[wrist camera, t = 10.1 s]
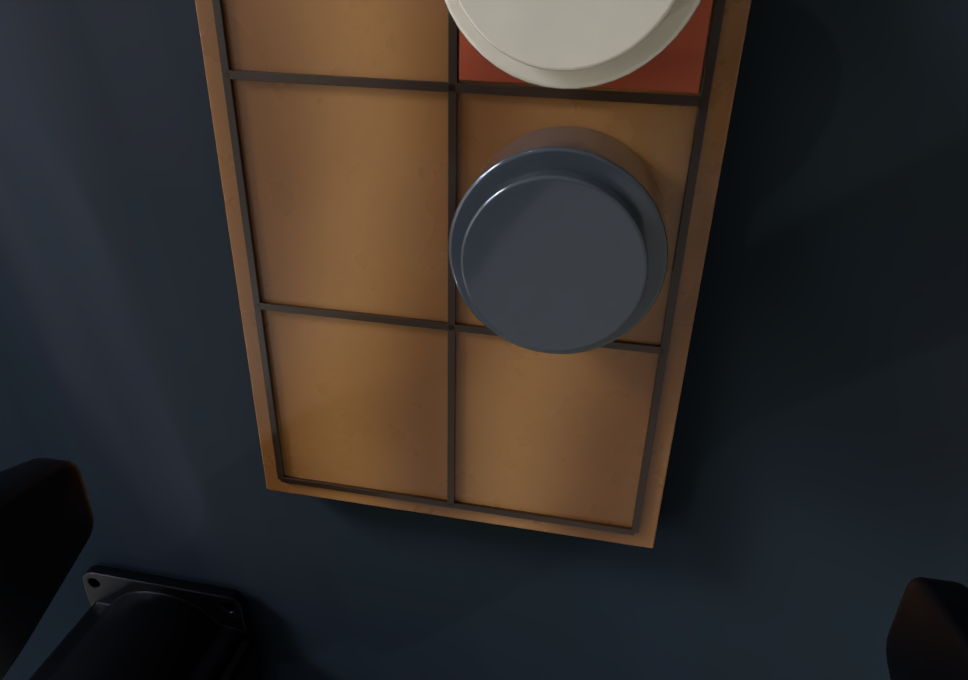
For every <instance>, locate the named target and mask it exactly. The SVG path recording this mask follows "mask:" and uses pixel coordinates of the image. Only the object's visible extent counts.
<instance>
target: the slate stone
mask: <svg viewBox="0 0 968 680" xmlns="http://www.w3.org/2000/svg"><path fill="white" fill-rule="evenodd" d="M449 261H450V266H451V271H452V275H453V278H454V281H455V284H456V286H457V288H458V290H459V292H460V294H461V297H462V298H463V300H464V301H465V303H466V305H467V306H468V308H469V309H470V310H471V311H472V313H473V314H474V315H475V316H476V317H477V319H478V320H479V321H481V322H482V323H483V324H484V325H485V326H486V327H487V328H488V329H490V330H491V331H492V332H494V333H495V334H496V335H498V336H499V337H501V338H503V339H505V340H506V341H508V342H510V343H512V344H515V345H517V346H520V347H522V348H525V349H529V350H532V351H536V352H542V353H548V354H574V353H580V352H585V351H590V350H593V349H596V348H599V347H602V346H604V345H607V344H609V343H611V342H613V341H615V340H616V339H618V338H620V337H621V336H623V335H625V334H626V333H627V332H629V331H630V330H631V329H632V328H634V327H635V326H636V325H637V324H638V323H639V322H640V321H641V320H642V319H643V318H644V317H645V316H646V314H647V313H648V312H649V310H650V309H651V307H652V306H653V304H654V303H655V301H656V299H657V297H658V295H659V293H660V291H661V288H662V286H663V283H664V280H665V275H666V271H667V265H668V240H667V229H666V218H665V208H664V203H663V199H662V195H661V192H660V190H659V187H658V184H657V182H656V180H655V179H654V177H653V175H652V173H651V171H650V170H649V169H648V167H647V166H646V165H645V163H644V162H643V161H642V160H641V159H640V158H639V157H638V156H637V155H636V153H635V152H633V151H632V150H631V149H630V148H628V147H627V146H626V145H625V144H623V143H621V142H620V141H618V140H616V139H615V138H613V137H611V136H609V135H606V134H604V133H601V132H599V131H595V130H592V129H588V128H582V127H575V126H557V127H550V128H544V129H540V130H537V131H533V132H530V133H528V134H526V135H523V136H521V137H519V138H517V139H516V140H514V141H512V142H511V143H509V144H508V145H506V146H505V147H504V148H503V149H501V150H500V151H499V152H498V153H497V154H496V155H495V156H494V157H493V158H492V159H491V160H490V161H489V163H488V164H487V165H486V166H485V168H484V169H483V170H482V172H481V173H480V174H479V176H478V177H477V178H476V179H475V181H474V182H473V183H472V185H471V186H470V187H469V189H468V190H467V192H466V193H465V194H464V196H463V198H462V199H461V201H460V203H459V205H458V207H457V209H456V212H455V215H454V218H453V220H452V225H451V229H450V234H449Z"/></svg>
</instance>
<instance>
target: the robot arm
mask: <svg viewBox="0 0 968 680" xmlns="http://www.w3.org/2000/svg"><path fill="white" fill-rule="evenodd" d="M93 523H94V517H93V512H92V509H91V506H90V502H89V499H88V496H87V492H86V489H85V486H84V482H83V479H82V475H81V472H80V470H79V468H78V467H77V466H76V465H75V464H74V463H72V462H70V461H65V460H58V459H50V458H36V459H33V460H30V461H27V462H25V463H22V464H19V465H17V466H14V467H12V468H9V469H7V470H4V471H1V472H0V680H2V679H3V677H4V676H5V674H6V673H7V671H8V670H9V669H10V667H11V666H12V664H13V663H14V661H15V660H16V658H17V657H18V655H19V654H20V652H21V651H22V649H23V647H24V646H25V644H26V643H27V641H28V640H29V638H30V636H31V635H32V633H33V631H34V630H35V628H36V626H37V625H38V623H39V621H40V620H41V618H42V616H43V615H44V613H45V611H46V610H47V608H48V606H49V605H50V603H51V601H52V600H53V598H54V596H55V595H56V593H57V591H58V590H59V588H60V586H61V584H62V583H63V581H64V579H65V578H66V576H67V574H68V573H69V571H70V569H71V568H72V566H73V564H74V563H75V561H76V559H77V558H78V556H79V554H80V553H81V551H82V549H83V548H84V546H85V544H86V543H87V541H88V539H89V537H90V535H91V532H92V529H93ZM82 581H83V584H84V587H85V590H86V593H87V597H88V600H89V603H90V606H91V608H90V609H89V610H88V611H87V612H86V613H85V615H84V616H83V617H82V618H81V619H80V620H79V622H78V623H77V624H76V625H75V626H74V627H73V629H72V630H71V631H70V632H69V633H68V634H67V636H66V637H65V638H64V639H63V640H62V641H61V643H60V644H59V645H58V646H57V647H56V649H55V650H54V651H53V652H52V653H51V654H50V656H49V657H48V658H47V659H46V660H45V661H44V663H43V664H42V665H41V666H40V667H39V668H38V670H37V671H36V672H35V673H34V674H33V675H32V677H31V678H30V679H29V680H262V676H261V670H260V665H259V659H258V654H257V648H256V646H255V643H254V640H253V634H252V628H251V623H250V617H249V612H248V606H247V601H246V599H245V597H244V596H243V595H242V594H241V593H240V592H238V591H236V590H233V589H227V588H222V587H216V586H211V585H205V584H199V583H194V582H188V581H183V580H177V579H171V578H166V577H160V576H154V575H149V574H143V573H138V572H132V571H126V570H121V569H115V568H110V567H104V566H98V565H94V566H91V567H90V568H89V569H88V570H87V571H86V572H85V574H84V575H83V576H82ZM886 654H887V663H888V668H889V673H890V678H891V680H968V588H967V587H965V586H964V585H962V584H960V583H957V582H953V581H946V580H939V579H931V578H924V577H918V578H915V579H913V580H911V581H910V582H909V584H908V585H907V587H906V589H905V592H904V594H903V597H902V600H901V602H900V605H899V607H898V610H897V613H896V615H895V618H894V620H893V623H892V626H891V628H890V631H889V634H888V637H887V645H886Z"/></svg>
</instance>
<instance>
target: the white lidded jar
mask: <svg viewBox="0 0 968 680" xmlns="http://www.w3.org/2000/svg"><path fill="white" fill-rule="evenodd" d="M444 1H445V3H446V6H447V8H448V10H449V13H450V14H451V16H452V18H453V20H454V21H455V23H456V25H457V26H458V28H459V30H460V31H461V32H462V34H463V35H464V36H465V38H466V39H467V40H468V42H469V43H470V44H471V45H472V46H473V47H474V48H475V49H476V50H477V51H478V52H479V53H480V54H481V55H482V56H483V57H484V58H485V59H487V60H488V61H489V62H490V63H492V64H493V65H494V66H496V67H497V68H499V69H500V70H502V71H504V72H505V73H507V74H509V75H510V76H513V77H515V78H517V79H520V80H522V81H524V82H527V83H530V84H534V85H538V86H541V87H547V88H555V89H581V88H588V87H595V86H599V85H602V84H606V83H609V82H612V81H615V80H617V79H619V78H622V77H624V76H626V75H629V74H631V73H632V72H634V71H636V70H637V69H639V68H641V67H642V66H644V65H646V64H647V63H648V62H650V61H651V60H652V59H653V58H655V57H656V56H657V55H659V54H660V53H661V52H662V51H663V50H664V49H665V48H666V47H667V46H668V45H669V44H670V43H671V42H672V41H673V40H674V39H675V38H676V37H677V36H678V35H679V33H680V32H681V31H682V30H683V28H684V27H685V26H686V25H687V23H688V22H689V20H690V19H691V17H692V16H693V14H694V12H695V11H696V9H697V8H698V6H699V4H700V2H701V0H444Z"/></svg>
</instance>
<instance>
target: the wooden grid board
mask: <svg viewBox="0 0 968 680" xmlns="http://www.w3.org/2000/svg"><path fill="white" fill-rule="evenodd" d="M751 1H752V0H701V2H700V4H699V6H698V8H697V9H696V11H695V12H694V14H693V16H692V17H691V19H690V20H689V22H688V23H687V25H686V26H685V27H684V28H683V30H682V31H681V32H680V33H679V35H678V36H677V37H676V38H675V39H674V40H673V41H672V42H671V43H670V44H669V45H668V46H667V47H666V48H665V49H664V50H663V51H662V52H661V53H660V54H659V55H657V56H656V57H655V58H653V59H652V60H651V61H650V62H648V63H647V64H646V65H644V66H642V67H641V68H639V69H637V70H636V71H634V72H632V73H631V74H629V75H626V76H624V77H622V78H619V79H617V80H615V81H612V82H609V83H606V84H602V85H599V86H595V87H588V88H581V89H555V88H547V87H541V86H538V85H534V84H530V83H527V82H524V81H522V80H520V79H517V78H515V77H513V76H510V75H509V74H507V73H505V72H504V71H502V70H500V69H499V68H497V67H496V66H494V65H493V64H492V63H490V62H489V61H488V60H487V59H485V58H484V57H483V56H482V55H481V54H480V53H479V52H478V51H477V50H476V49H475V48H474V47H473V46H472V45H471V44H470V43H469V42H468V40H467V39H466V38H465V36H464V35H463V34H462V32H461V31H460V30H459V28H458V26H457V25H456V23H455V21H454V20H453V18H452V16H451V14H450V13H449V10H448V8H447V6H446V3H445V1H444V0H195V4H196V11H197V18H198V25H199V32H200V38H201V45H202V52H203V59H204V66H205V72H206V79H207V86H208V93H209V99H210V106H211V113H212V120H213V127H214V133H215V140H216V147H217V154H218V161H219V167H220V174H221V181H222V188H223V194H224V201H225V208H226V215H227V222H228V228H229V235H230V242H231V249H232V256H233V262H234V269H235V276H236V283H237V289H238V296H239V303H240V310H241V317H242V323H243V330H244V337H245V344H246V351H247V357H248V364H249V371H250V378H251V384H252V391H253V398H254V405H255V412H256V418H257V425H258V432H259V439H260V446H261V452H262V459H263V466H264V473H265V479H266V486H267V489H268V490H275V491H281V492H288V493H295V494H301V495H308V496H314V497H321V498H327V499H334V500H340V501H347V502H353V503H360V504H366V505H373V506H379V507H386V508H392V509H399V510H405V511H412V512H418V513H425V514H431V515H438V516H444V517H451V518H457V519H464V520H470V521H477V522H484V523H490V524H497V525H503V526H510V527H516V528H523V529H529V530H536V531H542V532H549V533H555V534H562V535H568V536H575V537H581V538H588V539H594V540H601V541H607V542H614V543H620V544H627V545H633V546H640V547H646V548H653V547H654V541H655V535H656V530H657V524H658V519H659V513H660V508H661V502H662V496H663V491H664V485H665V480H666V474H667V469H668V463H669V457H670V452H671V446H672V441H673V435H674V430H675V424H676V418H677V413H678V407H679V402H680V396H681V391H682V385H683V379H684V374H685V368H686V363H687V357H688V352H689V346H690V341H691V335H692V329H693V324H694V318H695V313H696V307H697V302H698V296H699V290H700V285H701V279H702V274H703V268H704V263H705V257H706V251H707V246H708V240H709V235H710V229H711V224H712V218H713V212H714V207H715V201H716V196H717V190H718V185H719V179H720V173H721V168H722V162H723V157H724V151H725V146H726V140H727V134H728V129H729V123H730V118H731V112H732V107H733V101H734V95H735V90H736V84H737V79H738V73H739V68H740V62H741V56H742V51H743V45H744V40H745V34H746V29H747V23H748V17H749V12H750V6H751ZM557 126H575V127H582V128H588V129H592V130H595V131H599V132H601V133H604V134H606V135H609V136H611V137H613V138H615V139H616V140H618V141H620V142H621V143H623V144H625V145H626V146H627V147H628V148H630V149H631V150H632V151H633V152H635V153H636V155H637V156H638V157H639V158H640V159H641V160H642V161H643V162H644V163H645V165H646V166H647V167H648V169H649V170H650V171H651V173H652V175H653V177H654V179H655V180H656V182H657V184H658V187H659V190H660V192H661V195H662V199H663V203H664V208H665V218H666V229H667V240H668V265H667V271H666V275H665V280H664V283H663V286H662V288H661V291H660V293H659V295H658V297H657V299H656V301H655V303H654V304H653V306H652V307H651V309H650V310H649V312H648V313H647V314H646V316H645V317H644V318H643V319H642V320H641V321H640V322H639V323H638V324H637V325H636V326H635V327H634V328H632V329H631V330H630V331H629V332H627V333H626V334H625V335H623V336H621V337H620V338H618V339H616V340H615V341H613V342H611V343H609V344H607V345H604V346H602V347H599V348H596V349H593V350H590V351H585V352H580V353H574V354H548V353H542V352H536V351H532V350H529V349H525V348H522V347H520V346H517V345H515V344H512V343H510V342H508V341H506V340H505V339H503V338H501V337H499V336H498V335H496V334H495V333H494V332H492V331H491V330H490V329H488V328H487V327H486V326H485V325H484V324H483V323H482V322H481V321H479V320H478V319H477V317H476V316H475V315H474V314H473V313H472V311H471V310H470V309H469V308H468V306H467V305H466V303H465V301H464V300H463V298H462V297H461V294H460V292H459V290H458V288H457V286H456V284H455V281H454V278H453V275H452V271H451V266H450V261H449V234H450V229H451V225H452V220H453V218H454V215H455V212H456V209H457V207H458V205H459V203H460V201H461V199H462V198H463V196H464V194H465V193H466V192H467V190H468V189H469V187H470V186H471V185H472V183H473V182H474V181H475V179H476V178H477V177H478V176H479V174H480V173H481V172H482V170H483V169H484V168H485V166H486V165H487V164H488V163H489V161H490V160H491V159H492V158H493V157H494V156H495V155H496V154H497V153H498V152H499V151H500V150H501V149H503V148H504V147H505V146H506V145H508V144H509V143H511V142H512V141H514V140H516V139H517V138H519V137H521V136H523V135H526V134H528V133H530V132H533V131H537V130H540V129H544V128H550V127H557Z"/></svg>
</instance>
